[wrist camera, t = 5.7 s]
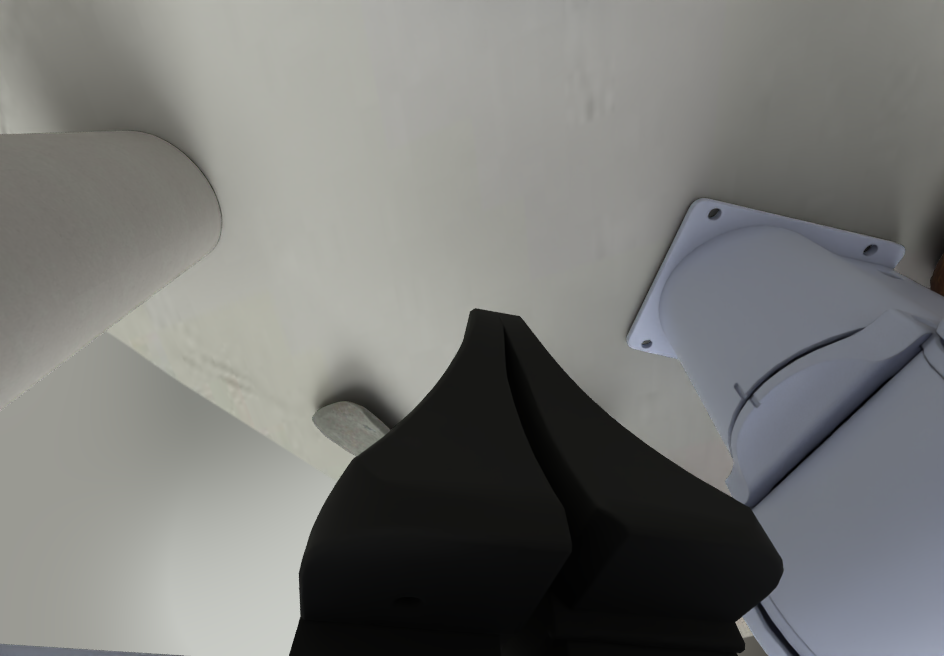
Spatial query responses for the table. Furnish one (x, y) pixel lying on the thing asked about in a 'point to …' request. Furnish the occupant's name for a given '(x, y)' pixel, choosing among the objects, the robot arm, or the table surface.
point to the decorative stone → (350, 426)
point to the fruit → (938, 277)
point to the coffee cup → (89, 239)
